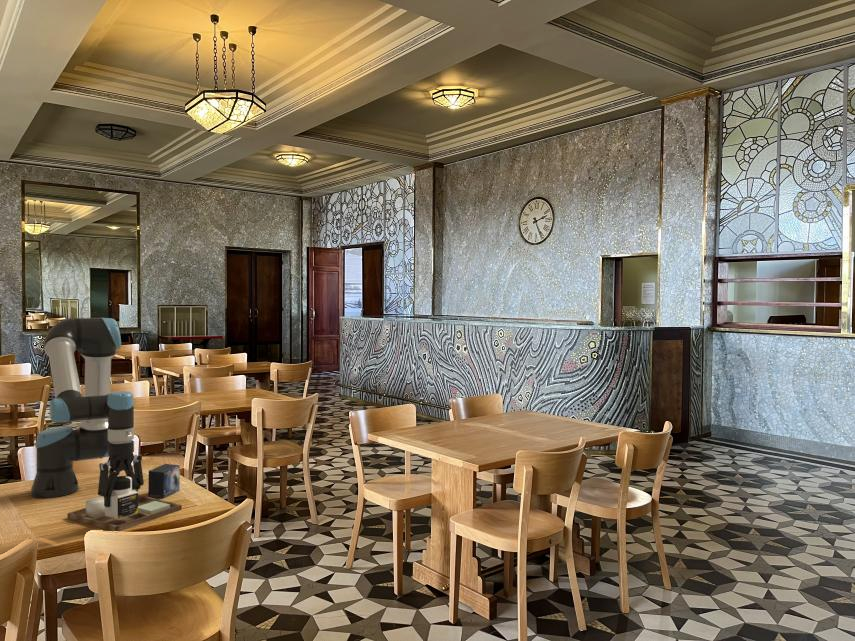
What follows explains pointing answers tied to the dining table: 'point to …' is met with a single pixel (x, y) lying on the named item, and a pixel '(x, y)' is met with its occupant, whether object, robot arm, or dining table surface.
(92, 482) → the dining table surface
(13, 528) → the dining table surface
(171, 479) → the small box
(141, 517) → the caddy
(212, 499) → the dining table surface
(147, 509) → the napkin stack
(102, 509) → the silver rounded block
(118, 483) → the medicine bottle
